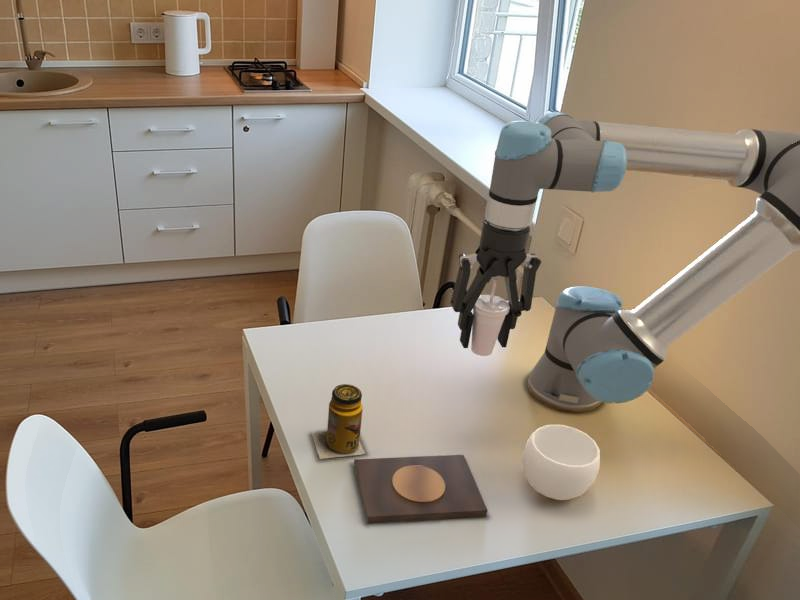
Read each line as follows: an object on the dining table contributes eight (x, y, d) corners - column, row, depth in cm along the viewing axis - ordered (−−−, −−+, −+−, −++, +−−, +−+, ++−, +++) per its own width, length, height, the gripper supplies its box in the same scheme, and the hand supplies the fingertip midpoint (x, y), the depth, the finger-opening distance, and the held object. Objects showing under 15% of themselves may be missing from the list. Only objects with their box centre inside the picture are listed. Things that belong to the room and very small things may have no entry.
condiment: (365, 454, 131) (370, 401, 125) (319, 459, 130) (323, 406, 123) (354, 429, 137) (359, 377, 131) (311, 434, 136) (314, 381, 129)
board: (462, 460, 131) (463, 453, 130) (486, 516, 120) (487, 509, 119) (353, 465, 129) (354, 458, 128) (367, 523, 117) (368, 516, 116)
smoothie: (497, 342, 132) (513, 274, 125) (501, 361, 127) (517, 291, 119) (462, 339, 133) (475, 270, 125) (464, 358, 127) (478, 287, 120)
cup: (603, 506, 123) (618, 463, 118) (538, 518, 120) (551, 474, 115) (565, 459, 133) (577, 417, 128) (504, 468, 130) (514, 426, 125)
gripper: (555, 213, 121) (527, 331, 133) (443, 213, 118) (425, 333, 131) (573, 231, 114) (542, 354, 127) (455, 231, 112) (435, 356, 125)
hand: (482, 343), depth 129 cm, fingers closed on smoothie, 6 cm apart
